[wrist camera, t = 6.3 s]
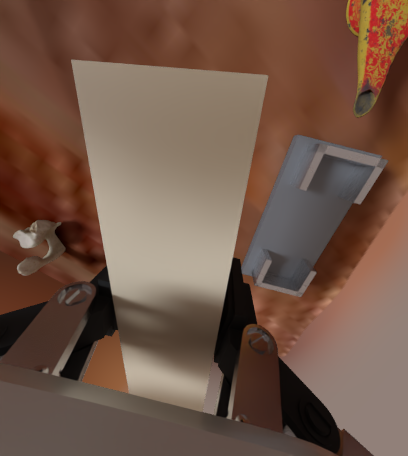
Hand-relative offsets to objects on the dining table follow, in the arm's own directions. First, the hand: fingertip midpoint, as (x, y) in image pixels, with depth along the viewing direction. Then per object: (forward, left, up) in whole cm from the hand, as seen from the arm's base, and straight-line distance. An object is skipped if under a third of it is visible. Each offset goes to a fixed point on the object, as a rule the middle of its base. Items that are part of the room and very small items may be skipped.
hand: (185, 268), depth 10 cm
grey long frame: (0, +13, -15) cm, 21 cm away
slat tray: (0, +14, -17) cm, 22 cm away
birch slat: (0, 0, -1) cm, 1 cm away
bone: (+13, -26, -17) cm, 34 cm away
